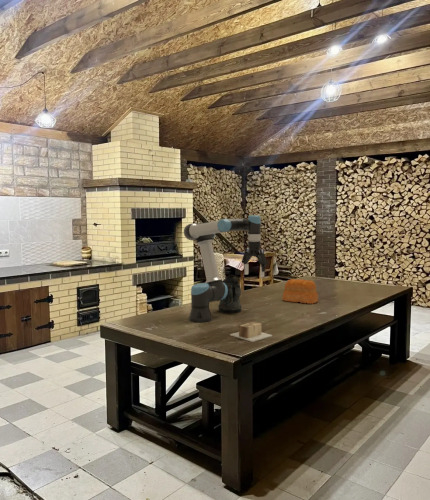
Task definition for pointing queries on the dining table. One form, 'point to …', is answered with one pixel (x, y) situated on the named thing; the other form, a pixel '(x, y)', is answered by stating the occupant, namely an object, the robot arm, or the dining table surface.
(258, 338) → the felt mat
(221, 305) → the beer stein
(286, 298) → the bread
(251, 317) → the dining table surface
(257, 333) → the oak block
